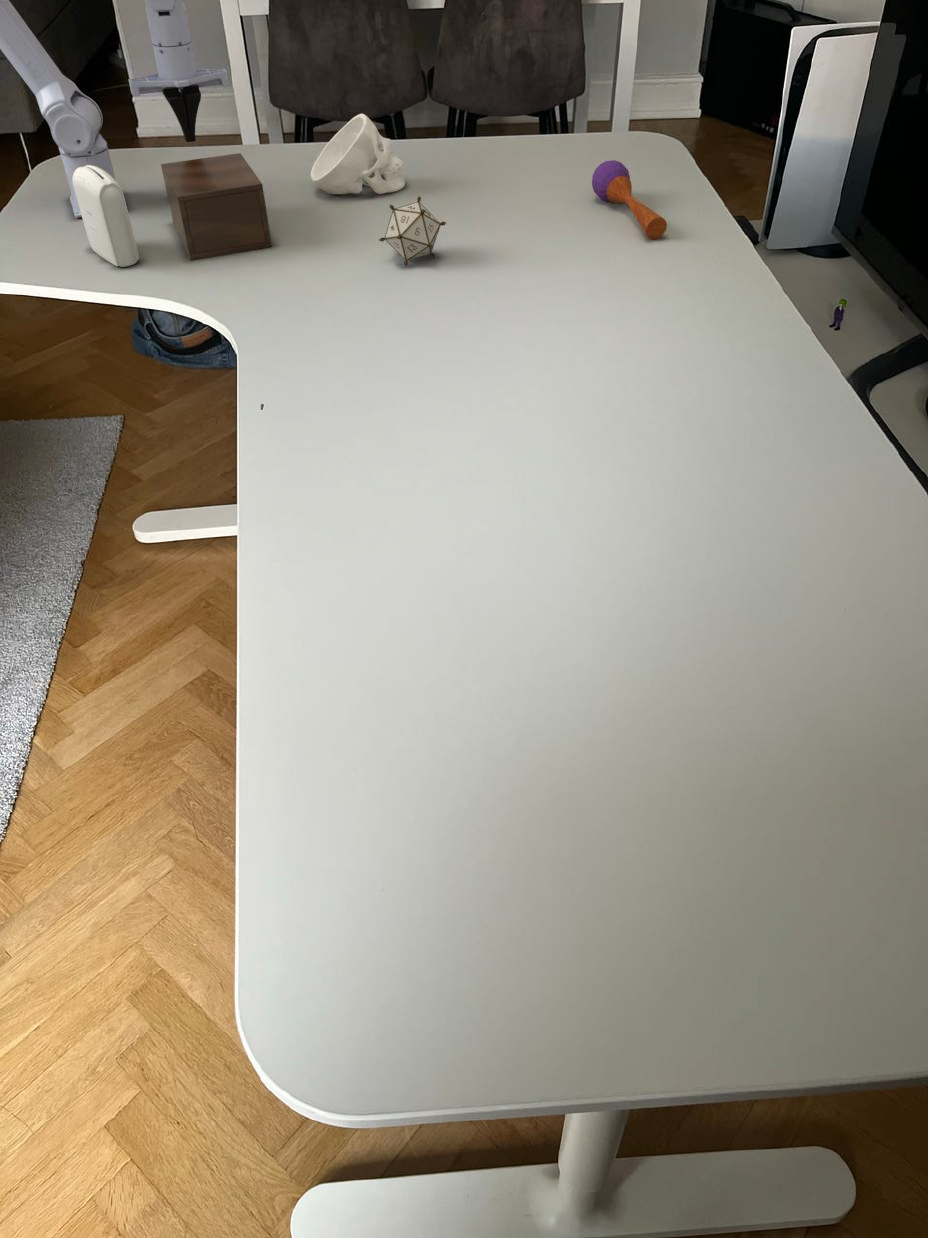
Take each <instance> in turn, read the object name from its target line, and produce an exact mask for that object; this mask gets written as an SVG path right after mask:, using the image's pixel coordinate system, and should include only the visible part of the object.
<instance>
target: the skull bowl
mask: <svg viewBox="0 0 928 1238" xmlns="http://www.w3.org/2000/svg"><path fill="white" fill-rule="evenodd" d="M391 143H392V139H390V138H387V137H384V136H382V135H381V134H380V132H379V131H378V128H377V127H376V125H375V123H374V122H373V121H372V120H371V119H370V118H369V117H368V116H367V115H366V114H364V113H359V114H357V115H355V116H353V117H352V118H351V119H350V120H349V121H347V123H346V124H345V125H344V126H342V127H341V128H340V129H339V130H338V132H336V133H335V134H334V136H332V137H331V139H330V140H329V141H328V142H327V143H326V145H325V146H324V148H323V149H322V150H321V152H320V153H319V155H318V156H317V158H316V159H315V161H314V164H313V165H312V167H311V170H310V174H309V175H310V178H311V180H312V182H313V183H314V185H316V186H317V187H318V188H319V189H320V190H322V191H324V192H326V193H327V194H329V195H347V194H360V193H361V192H362V191H363V185H364V186H367V187H370V188H371V190H373V192H375V193H376V194H378V195H383V194H388V193H395V192H398V191H400V190H402V189H404V188H405V186H406V181H405V179H404V178H403V176H402V171H403V169H402V168H403V167H404V162H403V161H402V159H400V157H397V155H395V153H394V152H393V151H390V148H391V147H390V146H391V145H392V144H391Z"/></svg>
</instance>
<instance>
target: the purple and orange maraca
mask: <svg viewBox="0 0 928 1238" xmlns="http://www.w3.org/2000/svg"><path fill="white" fill-rule="evenodd" d="M594 169H595V170H594V171H593V174H592V179H591V187H592V190H593V193H594V194H595V195H596V196H597V197H598V198H599V200H602V201H605V202H611V203H613V204H622V203H623V204H626V205H627V207H628V208H629V210H630V212H631V213H632V214H633V216H634V217H635V219H636V221H637V222H638V224H639V226H640V227H641V228H642V231H643V232H644V234H645V235H646V237H647V238H648V239H649V240H658V239H660V238H662V237H663V235H664V234H665V232H666V231H667V228H668V227H667V226H668V223H667V220H666V219H665V217H662V216H661V215H659V214H658V213H656V212H655V211H653V210H652V209H651V208H649V207H648V206H646V205H645V204H643V203H642V202H641V201H639V200H638V199H636V198H634V197H633V196H632V195H633V194H632V192H633V191H632V190H633V189H632V188H633V187H632V185H633V184H632V181H631V175H630V171H629V169H628V168H627V167H626V166H625V165H624V163H622V162H621V161H618V160H616V159H613V160H605V161H603V162H601V163H599V164H598V165H597V167H596V168H594Z"/></svg>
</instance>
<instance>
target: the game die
mask: <svg viewBox="0 0 928 1238" xmlns="http://www.w3.org/2000/svg"><path fill="white" fill-rule="evenodd" d="M416 200H417V201H416V202H412V203H409V204H405V205H402V206H399V207H395V206H394V205H393V204H390V203H389V209H390V210H391V213H390V218H389V221H388V224H387V228H386V231H385V235H384V237H383V236H382V237H380V238H379V239H378V241H379V242H381V243H382V242H384V241H385V242H386V243H387V244H388V245H389V246H390V247H391V248H392V249H393V250H394V251H396V253H397V254H398V255H399V256H400V257H401V258H402V259H403V260H404V263H403V265H404V267H405V268H406V267H407V266H408V265H409V262H410V261H411V260H414V259H415V260H416V259H418V258H420V257H424V256H428V255H430V257H432V258H435V253H434V252H433V250H434V246H435V243H436V240H437V237H438V234H439V231H440V229H441V226H445V225H446V224H447V221H445V220H444V221H441V222H440V221H439V220H438V219H437V218H436V217H435V215H433V214H432V213H431V212H430V211H429V210H428V209H427V208H426V207H425V206H424V205H423V204H422V203H421V201H422V197H421V195H419V196H418V197H417V198H416ZM408 261H409V262H408Z"/></svg>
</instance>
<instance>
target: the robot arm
mask: <svg viewBox="0 0 928 1238" xmlns="http://www.w3.org/2000/svg"><path fill="white" fill-rule="evenodd" d="M144 3H145V14H146V19H147V24H148V29H149V34H150V40H151V45H152V50H153V55H154V59H155V64H156V70H157V73H155V74H154V73H153V74H150V75H145V76H140V77H135V78H128V84H129V89H130V94H131V95H132V97H140V96H141V95H147V94H154V93H162V95H163V97H164V98H165V100H166V101H167V103H168V104H169V106H170V108H171V110H172V112H173V113H174V116H176V119H177V121H178V124H179V126H180V127H181V129H180V130H181V131H182V135H183V137H184V141H185V142H186V143H194V142H196V123H197V116H198V110H199V106H200V104H201V99H202V92H201V90H200V88H206V87H214V86H222V87H226V86H230V82H229V76H228V71H227V70H226V68H212V69H210V68H209V69H208V68H207V69H197V65H196V64H197V63H196V60H195V53H194V47H193V41H192V35H191V30H190V24H189V19H188V13H187V7H186V4H185V3H184V0H144ZM0 51H2V53H3V54H4V56H5V58H6V59H7V60H8V61H9V62H10V64H11V65H12V66H13V68H14V69H15V70H16V72H17V74H19V76H20V77H21V79H22V80H23V81H24V83H25V84H26V85H27V86H28V88H29V90H31V92H32V93H33V94H34V96H35V99H36V102H37V104H38V107H39V111H40V113H41V115H42V117H43V118H44V119H45V121H46V123H47V124H48V126H49V129H50V133H51V136H52V137H51V138H52V139H53V141H54V143H55V144H56V145H57V147H58V150H59V154H60V158H61V161H62V165H63V168H64V172H65V176H66V179H67V183H68V187H69V190H70V194H71V195H69V200H70V204H71V208H72V210H73V214H74V217H75V218H77V219H78V218H82V215H81V211H80V208H79V204H78V201H77V197H76V193H75V190H74V186H73V181H72V178H73V174H74V172H75V170H76V169H77V168H79V167H84V166H86V165H92V166H96V167H98V168H100V169H102V170H104V171H105V172H107V173H108V174H109V175H110V176H111V177H112V178H113V179H114V180H115V181H116V182H117V179H116V175H115V171H114V166H113V163H112V158H111V154H110V151H109V146H108V143H107V141H106V140H105V139H104V137H103V136H102V135H101V133H100V131H101V129H102V126H103V123H104V120H103V119H104V117H103V113H102V110H101V108H100V106H99V105H98V104H97V103H96V101H95V100H93V99H92V98H91V97H89V96H87V95H86V94H84V93H83V92H82V91H81V90H80V89H79V87H78V86H77V85H76V83H75V82H74V81H72V80H71V79H69V77H67V76H66V75H64V74H63V73H62V71H61V70H60V69H59V67H58V66H57V65H56V63H55V62H54V60H53V59H52V58H51V56H50V55H49V53H48V52H47V51H46V49H45V48H44V47H43V45H42V44H41V42H40V41H39V40H38V38H37V37H36V36H35V35H34V33H33V31H32V30H31V29H30V28H29V26H28V25H27V23H26V22H25V20H24V19H23V18H22V16H21V15H20V13H19V12H18V11H17V9H16V8H15V7H14V5H13V4H12V2H11V1H10V0H0Z"/></svg>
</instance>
